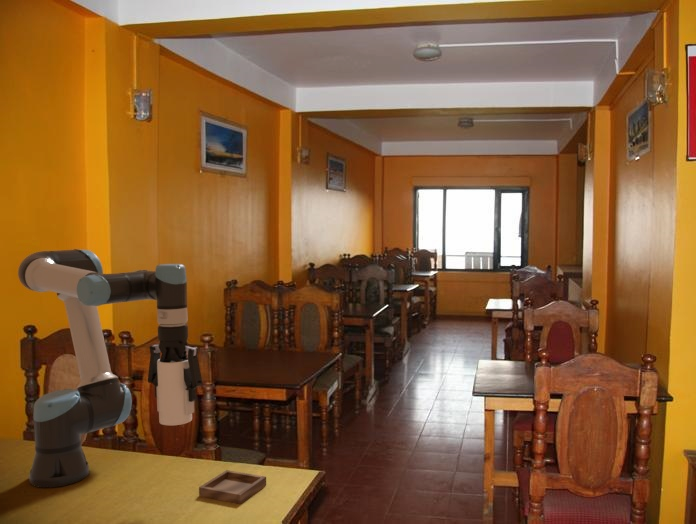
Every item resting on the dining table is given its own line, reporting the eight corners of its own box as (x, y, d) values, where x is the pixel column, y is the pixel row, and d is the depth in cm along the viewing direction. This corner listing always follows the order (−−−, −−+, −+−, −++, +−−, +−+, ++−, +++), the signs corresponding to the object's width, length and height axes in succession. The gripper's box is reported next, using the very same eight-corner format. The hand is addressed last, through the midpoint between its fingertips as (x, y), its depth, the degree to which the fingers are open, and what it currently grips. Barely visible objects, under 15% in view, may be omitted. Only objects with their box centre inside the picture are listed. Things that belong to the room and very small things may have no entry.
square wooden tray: (199, 496, 168) (199, 487, 168) (226, 478, 180) (226, 470, 180) (240, 503, 163) (240, 494, 163) (266, 485, 175) (266, 476, 175)
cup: (152, 423, 167) (150, 361, 166) (175, 414, 174) (173, 355, 173) (176, 427, 163) (174, 363, 162) (198, 418, 170) (196, 357, 170)
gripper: (130, 324, 168) (133, 411, 170) (197, 328, 160) (200, 420, 161) (150, 320, 175) (153, 404, 176) (215, 324, 166) (218, 412, 168)
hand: (175, 411), depth 169 cm, fingers closed on cup, 8 cm apart
